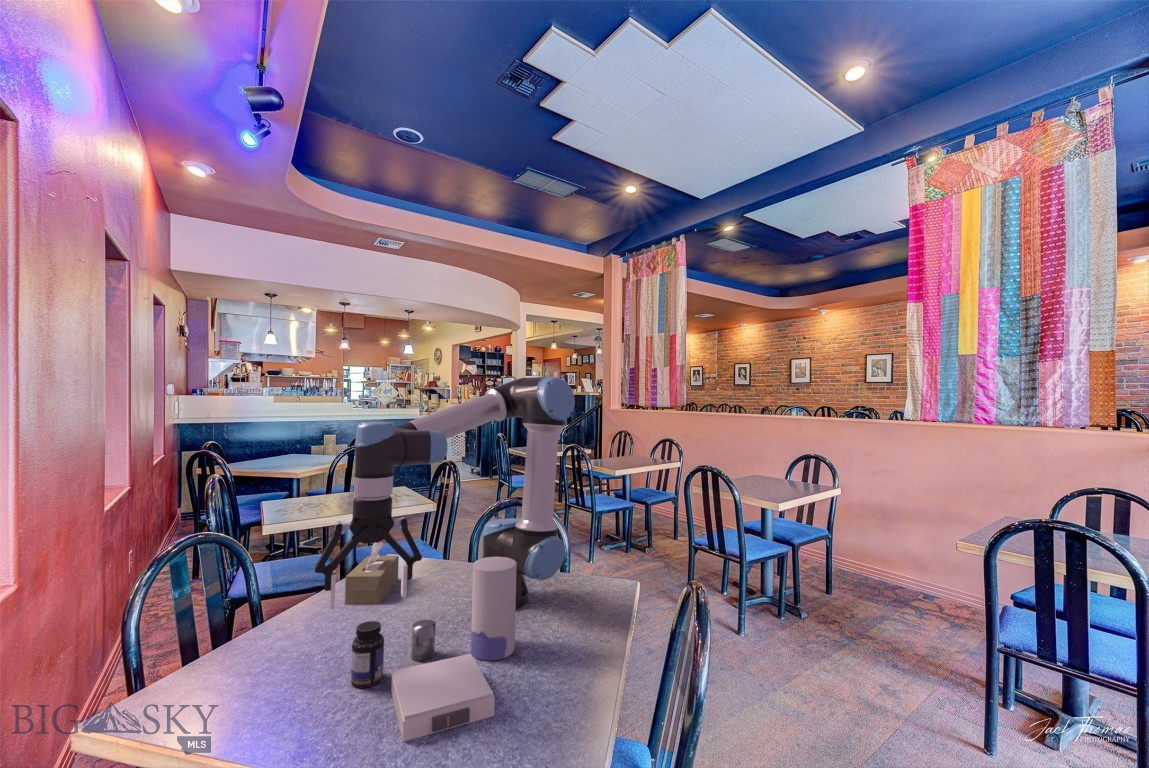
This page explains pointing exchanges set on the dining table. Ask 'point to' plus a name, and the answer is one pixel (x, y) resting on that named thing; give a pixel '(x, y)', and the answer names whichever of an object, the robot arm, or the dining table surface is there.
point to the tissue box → (371, 578)
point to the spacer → (423, 640)
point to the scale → (440, 696)
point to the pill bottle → (367, 655)
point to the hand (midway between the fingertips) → (368, 600)
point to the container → (493, 608)
